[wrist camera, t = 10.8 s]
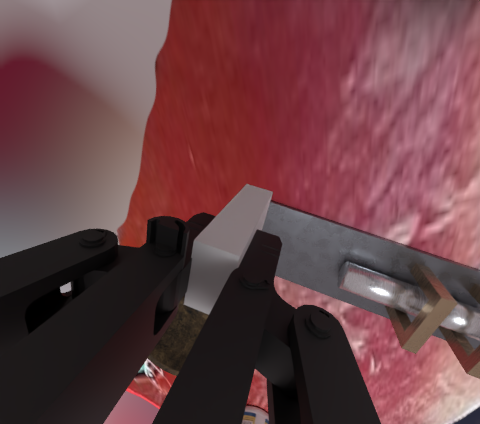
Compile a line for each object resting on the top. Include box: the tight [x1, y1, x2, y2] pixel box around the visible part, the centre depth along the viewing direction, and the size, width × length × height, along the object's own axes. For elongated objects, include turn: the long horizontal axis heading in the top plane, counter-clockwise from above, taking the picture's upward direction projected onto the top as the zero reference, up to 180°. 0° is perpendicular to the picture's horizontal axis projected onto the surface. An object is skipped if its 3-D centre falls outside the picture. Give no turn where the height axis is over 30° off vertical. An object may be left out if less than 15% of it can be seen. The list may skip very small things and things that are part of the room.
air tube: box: [337, 262, 480, 341], centre depth 39 cm, size 22×5×5 cm, turn 75°
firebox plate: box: [262, 200, 480, 379], centre depth 39 cm, size 14×44×10 cm, turn 75°
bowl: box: [148, 295, 209, 376], centre depth 52 cm, size 22×22×10 cm
